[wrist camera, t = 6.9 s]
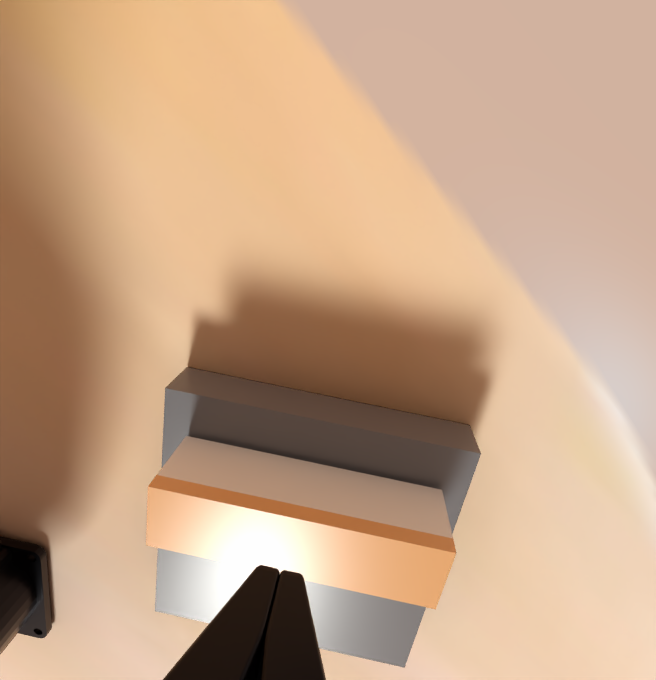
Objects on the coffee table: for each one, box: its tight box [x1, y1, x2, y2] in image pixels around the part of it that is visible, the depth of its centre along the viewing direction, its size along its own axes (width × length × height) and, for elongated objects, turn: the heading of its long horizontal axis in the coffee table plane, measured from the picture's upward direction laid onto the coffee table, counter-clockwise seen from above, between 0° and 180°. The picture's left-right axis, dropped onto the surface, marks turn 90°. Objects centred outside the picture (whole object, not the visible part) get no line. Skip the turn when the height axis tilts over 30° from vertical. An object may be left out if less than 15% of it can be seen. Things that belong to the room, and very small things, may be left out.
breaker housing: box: [155, 367, 481, 667], centre depth 19 cm, size 12×12×2 cm
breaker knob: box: [146, 436, 456, 609], centre depth 15 cm, size 2×10×3 cm, turn 80°
